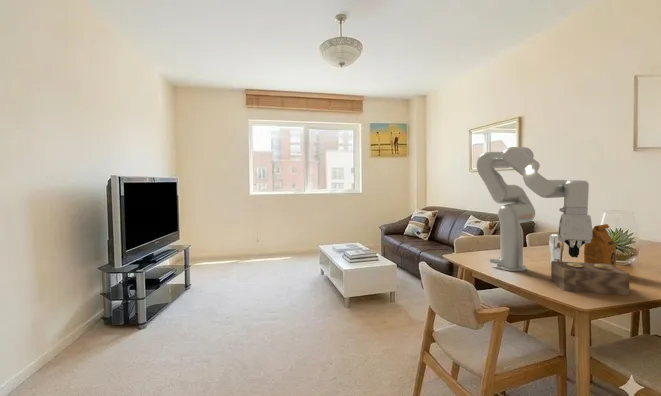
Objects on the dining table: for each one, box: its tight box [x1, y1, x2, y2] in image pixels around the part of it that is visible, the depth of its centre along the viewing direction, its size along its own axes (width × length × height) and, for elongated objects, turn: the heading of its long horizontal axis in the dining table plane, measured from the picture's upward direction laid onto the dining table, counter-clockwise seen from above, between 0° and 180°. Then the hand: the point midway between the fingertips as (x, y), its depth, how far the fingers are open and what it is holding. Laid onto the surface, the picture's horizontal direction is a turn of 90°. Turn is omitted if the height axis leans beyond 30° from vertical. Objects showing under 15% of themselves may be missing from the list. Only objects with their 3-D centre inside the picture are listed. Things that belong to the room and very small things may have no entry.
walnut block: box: [550, 260, 630, 296], centre depth 122 cm, size 20×14×9 cm
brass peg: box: [567, 262, 583, 268], centre depth 124 cm, size 5×5×8 cm
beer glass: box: [548, 233, 567, 265], centre depth 155 cm, size 7×7×15 cm
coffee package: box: [583, 223, 617, 268], centre depth 140 cm, size 10×12×22 cm
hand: (573, 256), depth 124 cm, fingers closed
